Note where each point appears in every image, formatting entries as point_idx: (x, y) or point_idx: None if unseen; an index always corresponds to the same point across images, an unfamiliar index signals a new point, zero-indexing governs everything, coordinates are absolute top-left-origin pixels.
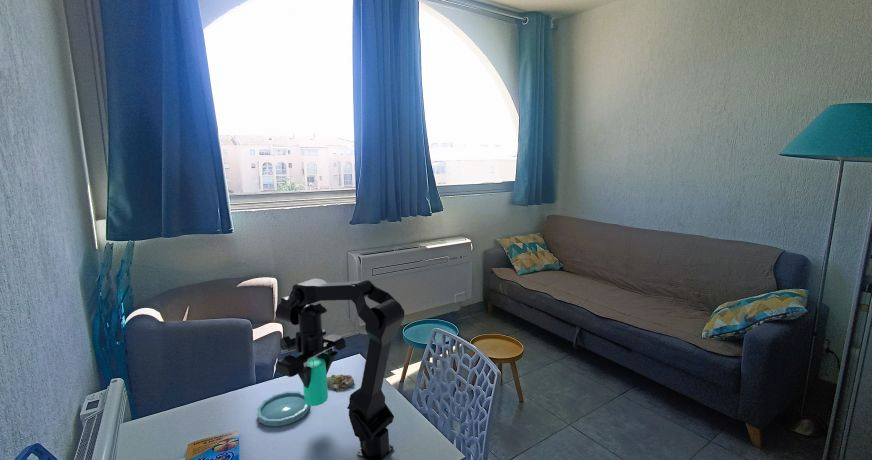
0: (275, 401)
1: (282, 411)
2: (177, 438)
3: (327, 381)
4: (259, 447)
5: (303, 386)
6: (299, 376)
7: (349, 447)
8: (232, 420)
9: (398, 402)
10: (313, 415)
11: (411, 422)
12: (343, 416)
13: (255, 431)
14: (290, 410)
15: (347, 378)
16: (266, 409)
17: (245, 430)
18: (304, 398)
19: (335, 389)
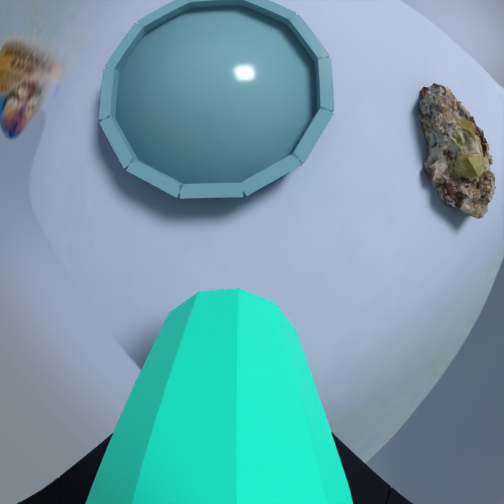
0: (225, 19)
1: (188, 100)
2: (13, 10)
3: (442, 122)
4: (49, 206)
5: (136, 382)
6: (48, 489)
7: None
8: (95, 8)
9: (424, 391)
10: (264, 221)
11: (360, 452)
12: (317, 327)
13: (82, 113)
14: (213, 123)
15: (481, 196)
16: (165, 37)
17: (73, 83)
18: (163, 324)
19: (428, 173)
